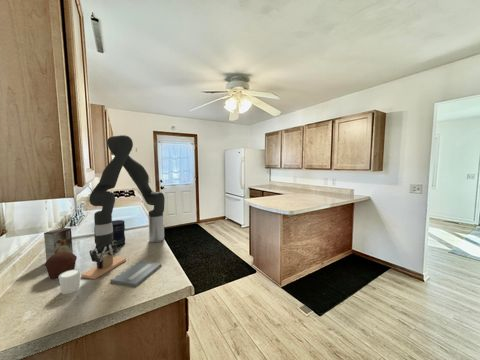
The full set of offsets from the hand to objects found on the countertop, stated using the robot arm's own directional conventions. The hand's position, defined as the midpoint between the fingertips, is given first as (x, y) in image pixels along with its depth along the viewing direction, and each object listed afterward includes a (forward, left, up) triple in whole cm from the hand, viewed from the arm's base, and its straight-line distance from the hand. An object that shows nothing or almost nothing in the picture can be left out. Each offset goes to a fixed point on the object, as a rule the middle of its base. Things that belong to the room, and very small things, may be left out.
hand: (105, 265), depth 98 cm
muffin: (+9, -15, -2) cm, 18 cm away
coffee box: (-2, -32, -2) cm, 32 cm away
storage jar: (-25, -18, -2) cm, 31 cm away
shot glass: (+17, +1, -2) cm, 17 cm away
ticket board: (0, +19, -2) cm, 19 cm away
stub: (0, 0, -1) cm, 1 cm away
